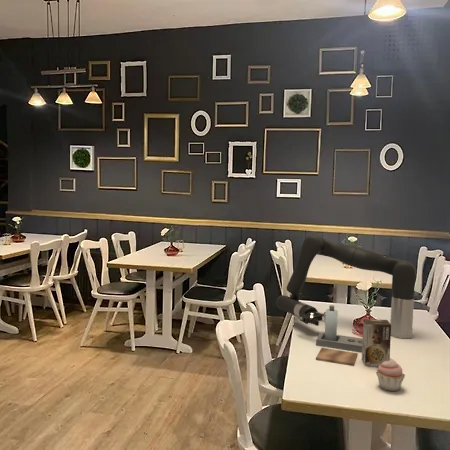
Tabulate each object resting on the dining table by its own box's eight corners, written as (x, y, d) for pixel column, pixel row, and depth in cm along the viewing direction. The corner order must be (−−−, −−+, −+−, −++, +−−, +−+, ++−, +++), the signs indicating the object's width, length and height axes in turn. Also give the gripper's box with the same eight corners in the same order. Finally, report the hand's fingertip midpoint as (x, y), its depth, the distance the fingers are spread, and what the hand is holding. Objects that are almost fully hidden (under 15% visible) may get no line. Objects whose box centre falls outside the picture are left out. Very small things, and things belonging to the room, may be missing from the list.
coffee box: (385, 361, 181) (387, 319, 179) (389, 367, 174) (392, 324, 173) (360, 359, 182) (363, 318, 180) (364, 366, 175) (366, 323, 174)
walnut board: (357, 355, 186) (357, 353, 186) (353, 365, 175) (353, 363, 175) (321, 349, 191) (321, 347, 191) (315, 359, 180) (315, 357, 180)
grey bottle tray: (371, 345, 198) (371, 338, 197) (368, 353, 188) (369, 345, 188) (320, 338, 205) (320, 331, 205) (315, 345, 196) (316, 338, 196)
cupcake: (380, 379, 164) (382, 350, 163) (408, 387, 158) (410, 357, 157) (370, 387, 157) (371, 358, 156) (398, 396, 151) (400, 366, 150)
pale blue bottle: (336, 342, 200) (338, 305, 199) (335, 346, 196) (336, 308, 194) (325, 340, 202) (327, 303, 200) (323, 344, 197) (325, 306, 196)
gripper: (292, 305, 213) (312, 315, 198) (319, 303, 218) (340, 312, 204) (291, 322, 213) (312, 333, 199) (318, 319, 219) (340, 329, 204)
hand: (326, 322), depth 201 cm, fingers open, 8 cm apart
